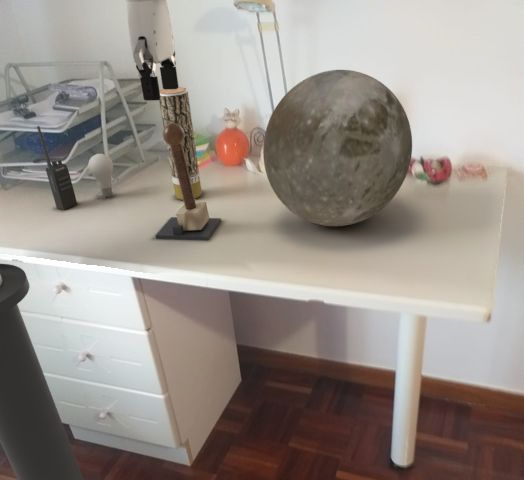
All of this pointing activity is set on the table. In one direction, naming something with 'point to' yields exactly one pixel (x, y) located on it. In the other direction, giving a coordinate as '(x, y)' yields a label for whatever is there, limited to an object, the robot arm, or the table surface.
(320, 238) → the table surface
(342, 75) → the globe
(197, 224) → the mallet
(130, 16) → the robot arm
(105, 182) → the lightbulb
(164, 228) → the stand
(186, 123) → the paper tube
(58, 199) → the walkie-talkie
